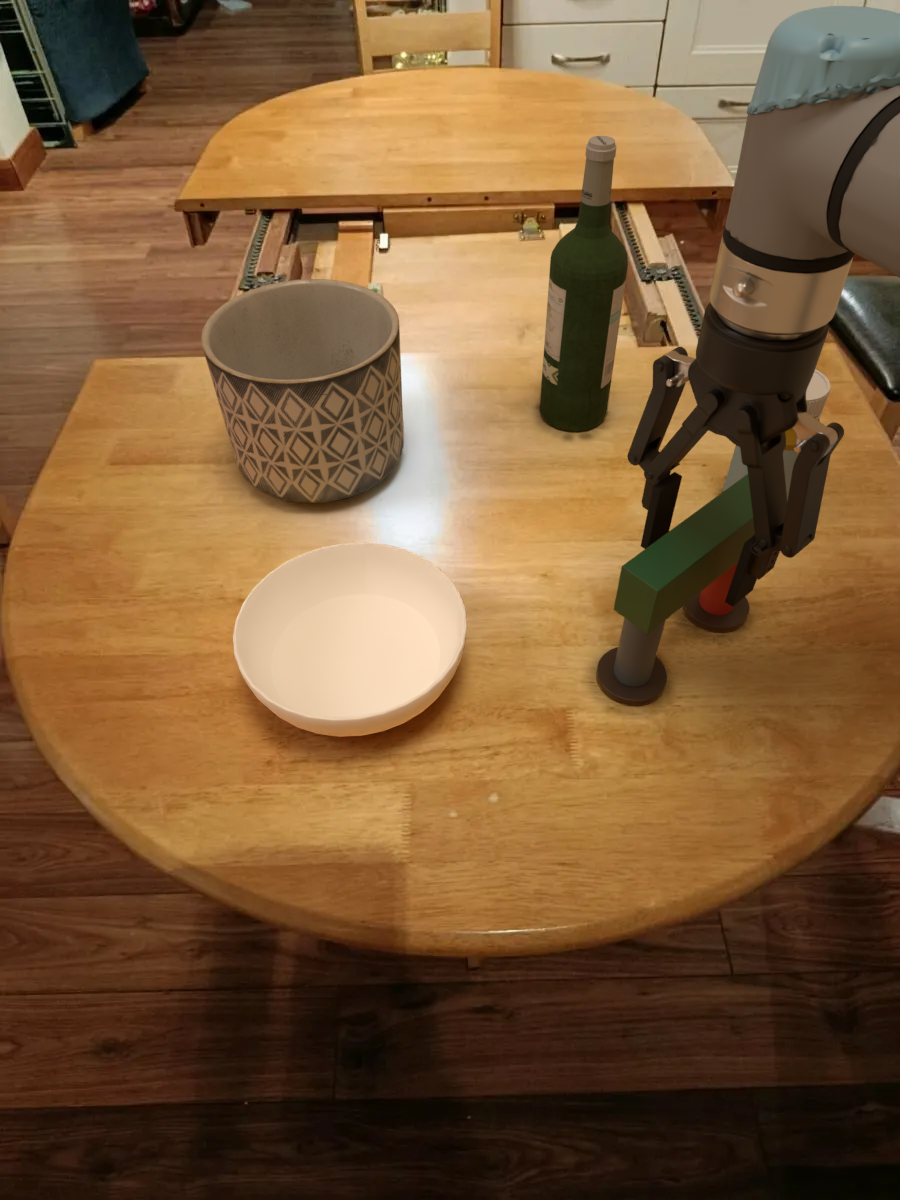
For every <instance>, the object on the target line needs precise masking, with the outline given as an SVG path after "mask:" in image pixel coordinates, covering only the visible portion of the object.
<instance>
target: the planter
mask: <svg viewBox="0 0 900 1200" xmlns="http://www.w3.org/2000/svg"><path fill="white" fill-rule="evenodd" d="M400 332H401V331H400V317H399V314H398V312H397V310H396V308H395V307H394V305H393V304H392V303H391V302H390V301H389V300H388V299H387V298H386V297H385V296H383V295H382V294H380V293H378V292H377V291H375V290H372V289H370V288H368V287H366V286H363V285H360V284H356V283H353V282H348V281H344V280H337V279H329V278H328V279H325V278H303V279H302V278H301V279H291V280H285V281H279V282H278V281H277V282H274V283H269V284H266V285H262V286H258V287H255V288H253V289H250V290H248V291H245V292H243V293H241V294H238V295H237V296H235V297H233V298H231V299H229V300H227V301H226V302H225V303H223V304H222V305H221V306H219V308H216V310H215V311H214V312H213V313H211V315H210V316H209V317H208V319H207V320H206V322H205V324H204V326H203V328H202V331H201V337H200V340H201V348H202V351H203V354H204V357H205V361H206V364H207V368H208V371H209V375H210V377H211V381H212V384H213V385H212V386H213V387H214V388H213V389H214V391H215V395H216V398H217V401H218V406H219V408H220V411H221V415H222V418H223V423H224V425H225V429H226V433H227V435H228V440H229V441H230V442H229V443H230V447H231V449H232V453H233V457H234V459H235V463H236V465H237V468H238V470H239V472H240V474H242V477H243V478H244V479H245V480H246V481H247V482H248V484H250V485H251V486H252V487H254V488H255V489H256V490H258V491H259V492H262V493H264V494H266V495H268V496H270V497H273V498H275V499H279V500H283V501H288V502H295V503H306V504H308V503H309V504H312V503H313V504H314V503H315V504H317V503H327V502H334V501H338V500H339V501H340V500H343V499H347V498H350V497H353V496H356V495H358V494H361V493H362V492H365V491H367V490H369V489H371V488H372V487H374V486H376V485H377V484H380V482H381V481H383V480H384V479H385V478H386V477H388V475H390V473H392V471H393V470H394V469H395V468H396V466H397V464H398V463H399V461H400V459H401V458H402V454H403V450H404V446H405V445H404V443H405V439H404V437H405V436H404V414H403V411H404V410H403V385H402V359H401V333H400Z"/></svg>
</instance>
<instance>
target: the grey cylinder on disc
mask: <svg viewBox="0 0 900 1200" xmlns="http://www.w3.org/2000/svg"><path fill="white" fill-rule="evenodd" d="M622 621H623V622H622V627H621V631H620V636H619V641H618V645H617V646H615V647H614V648H611V649H609V650H608V651H606V652H605V653H603V655H601V657H600V659H599V660H598V662H597V665H596V666H597V667H596V673H595V677H596V681H597V684H598V686H599V688H600V689H601V691H602V692H603V693H604V694H605V695H606V696H607V697H608V698H610V699H611V700H613V701H614V702H616V703H619V704H621V705H626V706H632V707H639V706H645V705H648V704H649V705H650V704H651V703H653V702H655V701H657V699H659V698H660V697H661V695H663V693H664V691H665V689H666V685H667V682H668V673H667V668H666V666H665V664H664V663H663V662H662V660H661V659H660V658H659V657H658V656H657V654H658V651H659V647H660V643H661V639H662V635H663V632H664V629H665V628H664V627H665V624H666V620H665V621H664V622H662V623H661V624H660V625H659V626H657V627H656V628H655V629H654V630H652V631H651V632H650V633H649V634H646V633H645V632H643V631H642V630H641V629H639V628H638V627H636V626H635V625H634V624H632V623H631V622H630V621H628V620H627V619H625V618H624V617H623V620H622Z"/></svg>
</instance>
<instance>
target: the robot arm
mask: <svg viewBox="0 0 900 1200" xmlns="http://www.w3.org/2000/svg"><path fill="white" fill-rule="evenodd" d="M746 114H747V116H746V122H745V126H744V127H745V128H744V133H743V137H742V142H741V148H740V154H739V159H738V163H737V168H736V173H735V178H734V182H733V187H732V193H731V198H730V202H729V207H728V211H727V216H726V219H725V224H724V225H723V226H724V227H723V231H722V235H721V239H720V243H719V249H718V254H717V256H716V257H717V258H716V262H715V265H714V272H713V274H712V275H713V276H712V280H711V285H710V290H709V294H708V298H709V303H708V304H707V305H706V307H705V309H704V314H703V318H702V322H701V327H700V331H699V336H698V340H697V345H696V349H695V357H692V356H689V354H688V351H687V350H686V349H685V348H684V347H683V346H677V347H675V348H673V349H672V350H670V351H668V352H666V353H665V354H663V355H662V356H660V357H658V358H657V359H655V360H653V363H652V387H651V390H650V393H649V396H648V398H647V400H646V404H645V407H644V409H643V412H642V414H641V417H640V420H639V423H638V425H637V427H636V430H635V432H634V436H633V439H632V441H631V444H630V447H629V449H628V453H627V460H628V463H630V465H632V466H639V467H640V468H641V469H642V470H643V476H644V479H645V482H644V487H643V492H642V496H641V497H642V498H641V506H642V508H643V509H645V510H647V513H646V518H645V522H644V528H643V532H642V537H641V542H640V547H641V548H643V550H645V549H646V548H647V547H649V546H650V545H651V544H653V543H654V542H656V541H657V540H658V539H660V538H661V537H662V536H664V535H665V534H666V533H668V532H669V531H670V530H671V526H672V525H671V524H672V521H673V516H674V513H675V508H676V504H677V500H678V496H679V491H680V487H681V483H682V480H683V475H681V474H680V473H678V472H676V471H673V470H674V469H675V468H677V467H678V466H680V465H681V462H682V460H683V459H684V458H685V457H686V456H687V455H688V454H689V453H690V451H691V450H692V449H693V448H694V447H695V446H696V445H697V443H698V442H700V440H701V439H702V438H703V437H704V436H705V434H707V433H708V431H709V432H711V433H713V434H715V435H718V436H722V437H725V438H726V439H728V440H729V441H730V443H732V444H734V445H735V446H736V445H737V446H739V447H740V450H741V459H742V463H743V465H746V466H747V470H748V478H749V487H750V495H751V503H752V512H753V520H754V529H755V535H753V536H752V537H751V538H750V539H748V540H747V541H746V542H745V543H744V546H743V549H742V552H741V555H740V558H739V561H738V564H737V567H736V570H735V573H734V576H733V579H732V582H731V584H730V587H729V590H728V593H727V596H726V599H725V602H726V603H727V604H729V605H730V606H732V607H733V606H734V605H736V604H737V603H738V602H739V601H740V600H742V599H743V598H744V597H745V596H746V597H747V596H748V595H749V594H750V593H751V592H753V590H754V589H755V585H756V583H757V580H758V581H759V580H761V579H762V578H763V577H765V576H766V575H767V574H768V573H769V572H771V570H773V569H774V568H775V565H776V563H777V560H778V558H779V555H780V553H781V555H783V556H784V557H786V558H789V559H791V558H794V557H795V556H796V555H798V554H799V553H800V552H801V551H803V550H804V549H805V548H806V547H807V546H809V544H811V543H812V542H813V541H814V540H815V537H816V533H817V528H818V523H819V518H820V513H821V506H822V502H823V496H824V491H825V486H826V481H827V477H828V472H829V471H828V470H829V465H830V460H831V456H832V453H833V452H834V451H835V449H836V448H837V446H838V445H839V443H840V442H841V440H842V439H843V437H844V435H845V429H844V426H842V424H840V423H839V422H834V421H833V422H830V423H828V424H827V425H825V424H824V423H822V421H820V422H819V421H818V420H817V419H815V418H814V417H812V416H811V415H810V414H808V413H807V402H806V390H807V387H808V385H809V383H810V381H811V379H812V376H813V374H814V371H815V369H816V368H817V365H818V362H819V359H820V357H821V353H822V351H823V348H824V345H825V342H826V339H827V336H828V333H829V330H830V329H829V328H830V327H829V322H831V321H832V320H833V318H834V317H835V315H836V312H837V309H838V305H839V302H840V299H841V297H842V294H843V290H844V288H845V285H846V281H847V278H848V275H849V273H850V269H851V266H852V264H853V259H854V257H855V255H857V256H859V257H861V258H862V259H865V261H868V262H870V263H872V264H874V265H876V266H877V267H879V268H881V269H883V270H884V271H887V272H888V273H890V274H892V275H894V276H896V277H898V278H899V279H900V13H899V12H896V11H892V10H888V9H882V8H877V7H869V6H858V5H857V6H856V5H829V6H819V7H814V8H808V9H804V10H801V11H798V12H794V14H791V15H789V16H787V17H786V18H785V19H783V20H782V21H781V22H779V24H778V25H777V26H776V27H775V29H773V31H772V33H771V35H770V38H769V39H768V42H767V45H766V48H765V53H764V56H763V59H762V62H761V66H760V70H759V73H758V76H757V80H756V83H755V87H754V90H753V94H752V97H751V100H750V103H749V104H748V105H747V109H746ZM687 382H689V385H690V387H691V391H692V394H693V396H694V399H695V403H696V406H695V407H694V408H693V410H692V411H691V412H690V413H689V414H688V416H687V417H686V418H685V419H684V420H683V422H682V423H681V427H679V429H678V430H677V432H675V434H674V435H673V436H672V437H671V439H669V441H668V442H667V443H666V444H665V446H664V447H663V448H662V449H661V450H660V448H661V445H662V443H663V440H664V438H665V435H666V433H667V431H668V428H669V426H670V423H671V421H672V419H673V417H674V414H675V411H676V408H677V407H678V404H679V401H680V399H681V396H682V394H683V392H684V389H685V386H686V384H687ZM789 429H793V430H794V432H795V433H796V436H797V439H796V446H795V447H794V452H795V453H796V454H798V456H797V458H796V460H795V463H794V466H793V470H792V476H791V482H790V489H789V495H788V501H787V493H786V482H785V471H784V461H783V451H784V449H785V447H786V435H785V432H786V431H787V430H789ZM672 471H673V472H672ZM671 472H672V473H671Z"/></svg>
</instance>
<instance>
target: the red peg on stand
mask: <svg viewBox="0 0 900 1200" xmlns="http://www.w3.org/2000/svg"><path fill="white" fill-rule="evenodd" d="M737 564H738V562H737V563H736V564H735V565H733V566H732V567H731V568H730V569H728V570H727V571H726V572H725V573H723V574H722V575H721V576H720V577H718V578H717V579H716V580H715V581H713V582H712V583H711V584H710V585H708V586H707V587H706V588H705V589H703V590H702V591H701V592H700V593H698V594H697V595H696V596H695V597H693V598H692V599H691V600H690V601H688V602H687V603H686V604H685V605H684V606H682V607H681V609H682V611H683V613H684V615H685V617H686V618H687V620H688V621H690V622H691V623H692V624H693V625H695V626H696V627H698V628H700V629H701V630H704V631H707V632H711V633H715V634H717V633H718V634H725V633H730V632H734V631H736V630H738V629H740V628H741V627H742V626H744V625H745V623H746V621H747V620H748V617H749V614H750V603H749V600H748V598H747V595H746V596H745V597H744V598H743V599H742V600H740V601H739V602H738V603H737V604H736V605H734V606H733V607H732V606H730V605H729V604H727V603H726V602H725V599H726V596H727V593H728V590H729V587H730V584H731V582H732V579H733V576H734V573H735V570H736V567H737Z"/></svg>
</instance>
